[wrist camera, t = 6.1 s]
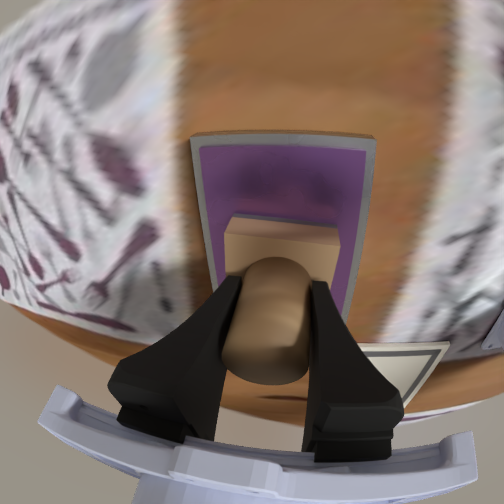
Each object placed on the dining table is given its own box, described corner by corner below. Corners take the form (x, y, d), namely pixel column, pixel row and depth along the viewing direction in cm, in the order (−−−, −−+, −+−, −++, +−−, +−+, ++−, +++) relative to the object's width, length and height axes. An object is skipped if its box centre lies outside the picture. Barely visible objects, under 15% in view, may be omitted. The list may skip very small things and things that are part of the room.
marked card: (449, 341, 18) (450, 345, 18) (396, 414, 26) (396, 417, 26) (334, 342, 20) (334, 347, 20) (313, 415, 28) (313, 419, 28)
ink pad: (371, 135, 12) (378, 141, 11) (340, 331, 19) (341, 345, 18) (197, 132, 13) (187, 138, 12) (224, 323, 21) (220, 336, 20)
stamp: (337, 224, 13) (350, 327, 8) (320, 300, 16) (318, 400, 11) (233, 213, 14) (189, 307, 9) (234, 290, 17) (204, 384, 12)
